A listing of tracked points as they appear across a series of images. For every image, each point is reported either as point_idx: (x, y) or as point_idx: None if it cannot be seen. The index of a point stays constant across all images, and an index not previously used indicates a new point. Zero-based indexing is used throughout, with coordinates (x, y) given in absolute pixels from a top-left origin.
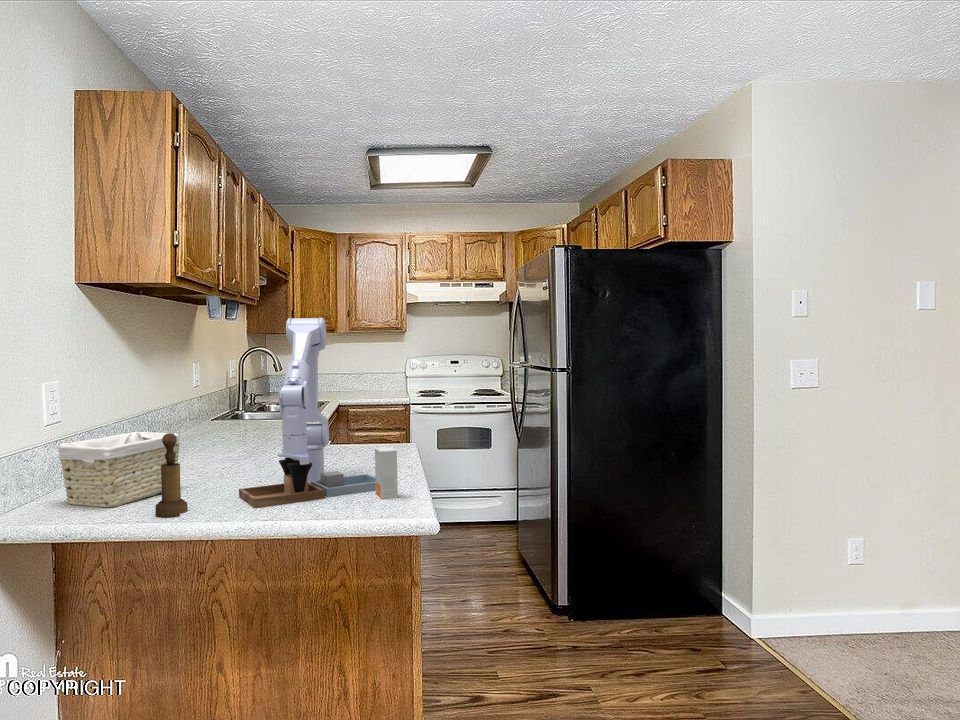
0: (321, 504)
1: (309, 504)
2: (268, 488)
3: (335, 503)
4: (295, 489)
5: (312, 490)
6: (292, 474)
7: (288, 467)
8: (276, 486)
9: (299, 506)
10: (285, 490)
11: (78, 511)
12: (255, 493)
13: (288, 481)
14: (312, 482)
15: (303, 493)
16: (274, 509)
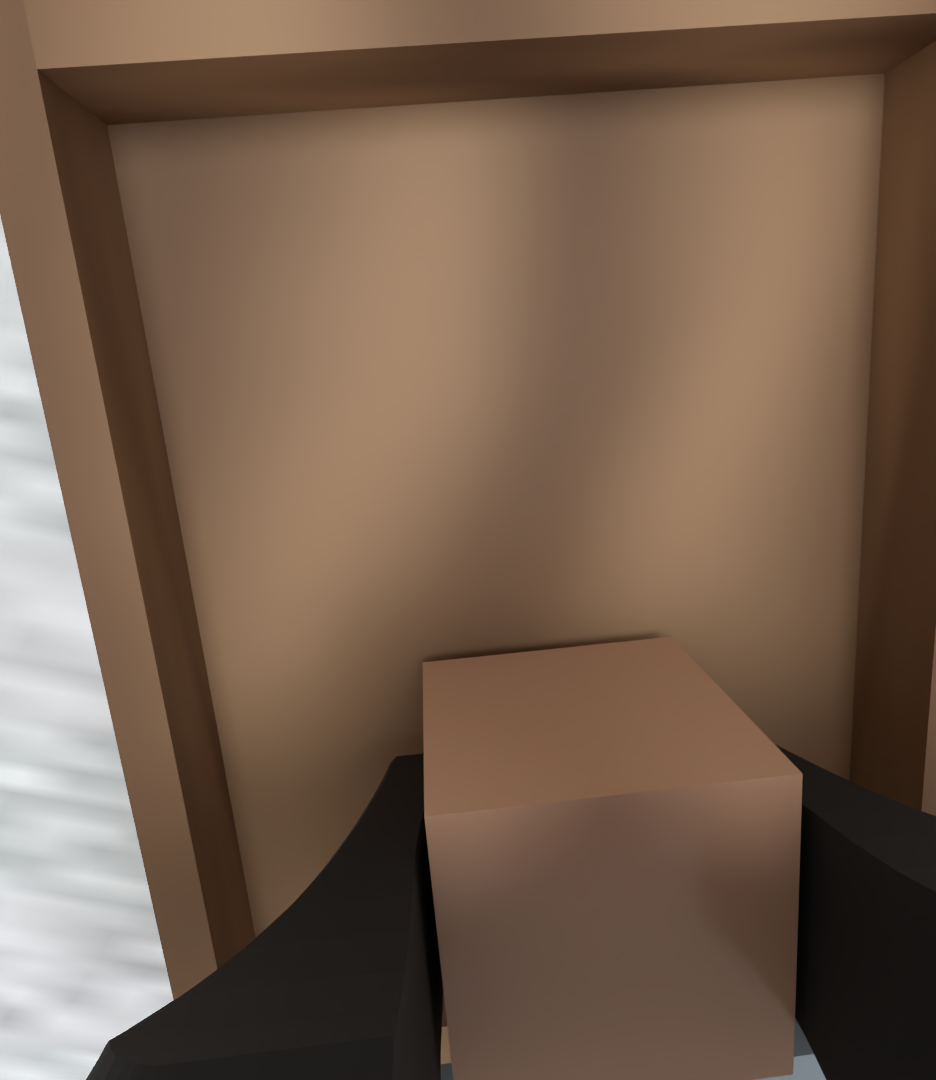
0: (55, 910)
1: (117, 799)
2: (919, 470)
3: (39, 1039)
4: (384, 779)
5: None
6: (286, 925)
7: (376, 1001)
8: (923, 594)
9: (59, 679)
10: (625, 661)
11: None
12: (896, 264)
13: (489, 763)
14: (807, 1047)
15: (139, 829)
16: (18, 361)
